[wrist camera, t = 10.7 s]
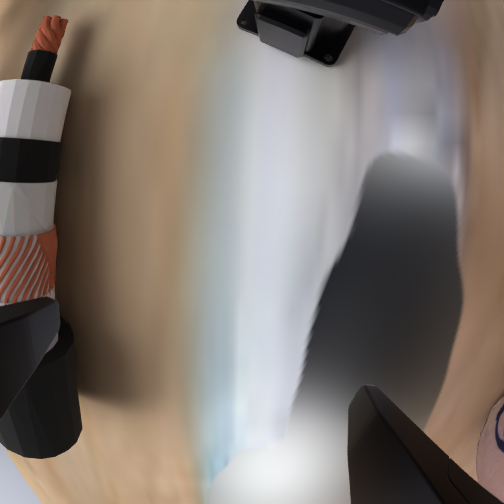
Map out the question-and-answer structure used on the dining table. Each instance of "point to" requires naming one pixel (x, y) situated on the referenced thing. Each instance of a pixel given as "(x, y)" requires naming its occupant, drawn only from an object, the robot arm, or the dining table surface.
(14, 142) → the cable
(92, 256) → the dining table surface
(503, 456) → the ceramic pitcher
